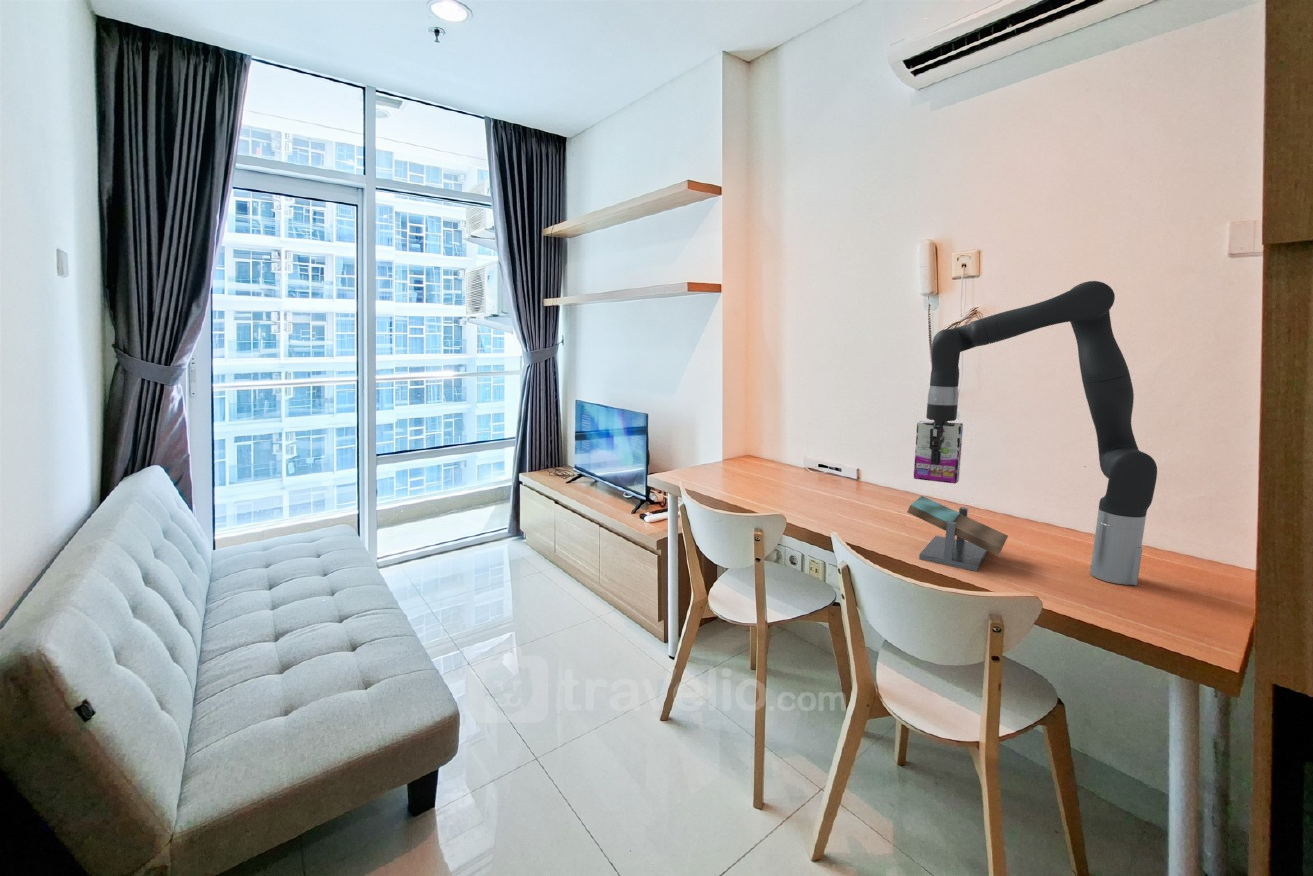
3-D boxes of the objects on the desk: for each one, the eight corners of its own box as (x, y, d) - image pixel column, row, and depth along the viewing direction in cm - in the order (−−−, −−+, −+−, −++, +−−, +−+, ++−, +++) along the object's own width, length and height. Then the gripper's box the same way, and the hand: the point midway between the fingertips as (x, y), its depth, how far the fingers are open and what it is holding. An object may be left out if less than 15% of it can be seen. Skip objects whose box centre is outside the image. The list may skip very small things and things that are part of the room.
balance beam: (1005, 541, 158) (1009, 534, 157) (998, 556, 146) (1002, 549, 145) (919, 501, 170) (922, 495, 169) (906, 512, 158) (909, 505, 158)
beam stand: (988, 550, 163) (992, 511, 161) (976, 571, 147) (981, 528, 145) (935, 540, 171) (938, 503, 169) (919, 559, 155) (922, 518, 154)
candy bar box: (959, 480, 159) (964, 422, 156) (956, 484, 155) (961, 424, 152) (916, 475, 165) (920, 420, 162) (912, 479, 161) (916, 421, 158)
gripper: (952, 405, 148) (946, 468, 151) (962, 401, 160) (957, 460, 162) (921, 403, 153) (916, 465, 156) (933, 400, 164) (928, 457, 167)
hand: (937, 462), depth 159 cm, fingers closed on candy bar box, 5 cm apart
